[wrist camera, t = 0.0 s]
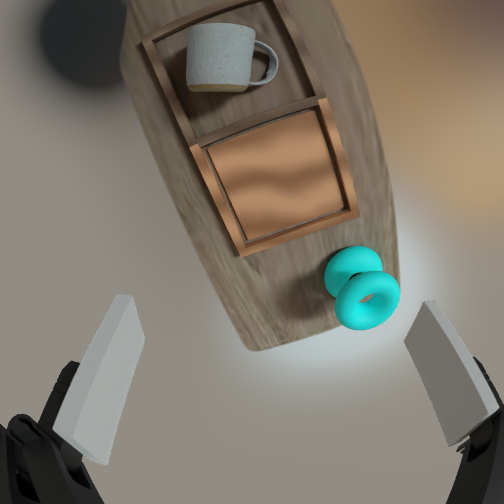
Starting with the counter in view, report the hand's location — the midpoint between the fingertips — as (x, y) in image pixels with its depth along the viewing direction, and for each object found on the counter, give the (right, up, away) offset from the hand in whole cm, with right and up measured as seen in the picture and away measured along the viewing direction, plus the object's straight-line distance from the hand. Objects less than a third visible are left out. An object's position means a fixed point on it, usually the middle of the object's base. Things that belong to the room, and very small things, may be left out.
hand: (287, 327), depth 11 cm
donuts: (+15, 0, +32) cm, 36 cm away
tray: (-1, +20, +21) cm, 29 cm away
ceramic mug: (-4, +27, +17) cm, 32 cm away
